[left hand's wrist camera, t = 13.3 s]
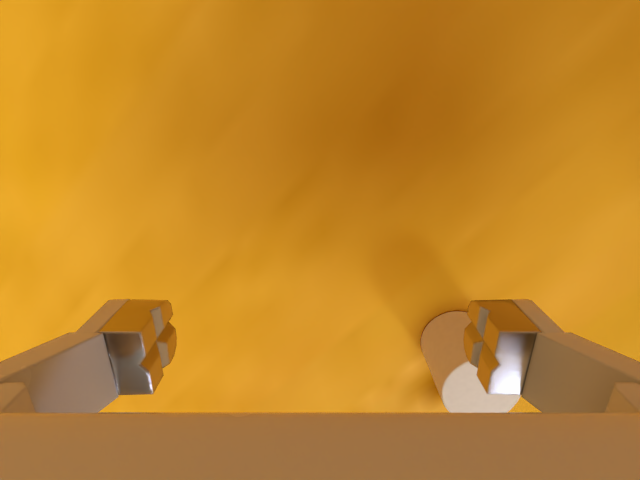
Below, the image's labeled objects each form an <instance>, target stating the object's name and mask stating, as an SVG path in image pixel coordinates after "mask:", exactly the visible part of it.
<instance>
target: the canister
mask: <svg viewBox="0 0 640 480" xmlns="http://www.w3.org/2000/svg"><path fill="white" fill-rule="evenodd" d="M470 323H471V320H470V318H469V317H468V315H467V312H462V311H452V312H447V313H444V314H442V315H439V316H438V317H436V318H434V319H433V320H432V321H431V322H430V323H429V324H428V325H427V326H426V328H425V329H424V331H423V333H422V336H421V349H422V352H423V354H424V357H425V359H426V362H427V364H428V367H429V369H430V372H431V374H432V377H433V379H434V382H435V384H436V387H437V389H438V391H439V394H440V396H441V399H442V401H443V404H444V406H445V407H446V409H447V410H448V411H449V412H450V413H507V412H508V411H509V410H510V409H512V408H513V407H514V405H515V404H516V403H517V401H518V400H519V398H520V396H521V395H503V394H487V393H486V391H485V389H484V388H483V386H482V384H481V382H480V381H479V379H478V377H477V370H478V368H476V367H475V366H473V365H472V364H470V363H469V361H468V359H467V357H466V354H465V350H464V342H463V338H464V330H465V328H466V327H467V326H468V325H469V324H470Z"/></svg>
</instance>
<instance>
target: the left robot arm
mask: <svg viewBox="0 0 640 480" xmlns="http://www.w3.org/2000/svg"><path fill="white" fill-rule="evenodd" d="M172 315H173V312H172V307H171V303H170V302H169V301H168V300H135V299H132V300H130V299H114V300H109V301H107V302H106V303H105V304H104V305H103V306H102V307H101V308H100V309H99V310H98V311H97V312H96V313H95V314H94V315H93V316H92V317H91V318H90V319H89V320H88V321H87V322H86V323H85V324H84V325H83V326H82V327H81V328H80V329H79V330H78V331H76V332H75V333H67V334H65V335H62V336H60V337H58V338H55V339H53V340H51V341H48V342H46V343H44V344H41V345H39V346H37V347H34V348H32V349H30V350H27V351H25V352H23V353H20V354H18V355H15V356H13V357H11V358H8V359H6V360H4V361H1V362H0V480H640V362H638V361H636V360H634V359H631V358H629V357H627V356H624V355H622V354H620V353H617V352H615V351H613V350H610V349H608V348H606V347H603V346H601V345H599V344H596V343H594V342H592V341H589V340H587V339H585V338H582V337H580V336H578V335H575V334H573V333H565V332H564V331H563V330H561V329H560V328H559V327H558V326H557V325H556V324H555V323H554V322H553V321H552V320H551V319H550V318H549V317H548V316H547V315H546V314H545V313H544V312H543V311H542V310H541V309H540V308H539V307H538V306H537V305H536V304H535V303H534V302H533V301H531V300H528V299H515V300H474V301H471V302H470V304H469V306H468V311H467V315H468V317H469V318H470V320H471V323H470V324H469V325H468V326H467V327H466V328H465V330H464V338H463V342H464V350H465V354H466V357H467V359H468V361H469V363H470V364H472V365H473V366H475V367H476V368H478V370H477V377H478V379H479V381H480V382H481V384H482V386H483V388H484V389H485V391H486V393H487V394H503V395H522V396H521V397H523V398H524V399H525V400H527V401H528V402H529V403H531V404H532V405H533V406H535V407H536V408H537V409H538V410H540V411H541V412H542V413H98V412H99V411H100V410H102V409H103V408H104V407H106V406H107V405H108V404H110V403H111V402H112V401H113V400H115V399H116V398H117V397H118V395H136V394H153V393H154V391H155V389H156V388H157V386H158V384H159V382H160V381H161V379H162V377H163V370H162V368H164V367H165V366H167V365H168V364H170V363H171V361H172V359H173V357H174V354H175V349H176V340H177V336H176V330H175V328H174V327H173V326H172V325H171V324H170V323H169V320H170V318H171V317H172Z"/></svg>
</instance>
